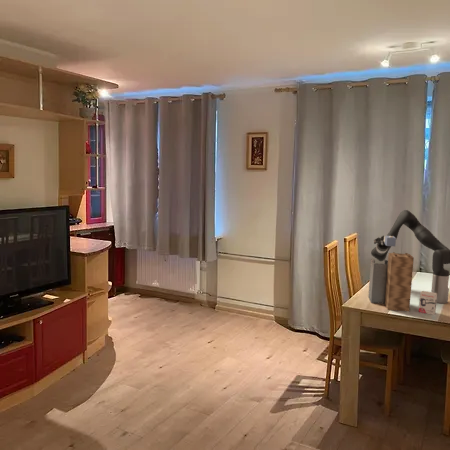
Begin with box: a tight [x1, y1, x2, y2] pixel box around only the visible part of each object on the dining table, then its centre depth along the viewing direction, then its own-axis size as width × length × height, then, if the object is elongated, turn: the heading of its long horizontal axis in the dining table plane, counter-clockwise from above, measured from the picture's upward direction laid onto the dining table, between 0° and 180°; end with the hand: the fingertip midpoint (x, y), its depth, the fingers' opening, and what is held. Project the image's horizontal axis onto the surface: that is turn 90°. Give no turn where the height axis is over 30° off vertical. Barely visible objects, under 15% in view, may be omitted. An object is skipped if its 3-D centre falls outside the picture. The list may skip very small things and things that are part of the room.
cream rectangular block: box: [383, 235, 397, 247], centre depth 293 cm, size 5×22×6 cm, turn 170°
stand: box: [384, 251, 414, 312], centre depth 277 cm, size 12×11×33 cm
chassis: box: [367, 258, 388, 305], centre depth 293 cm, size 10×15×25 cm, turn 170°
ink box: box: [418, 290, 437, 316], centre depth 272 cm, size 8×5×12 cm, turn 56°
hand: (386, 237), depth 299 cm, fingers closed on cream rectangular block, 3 cm apart
